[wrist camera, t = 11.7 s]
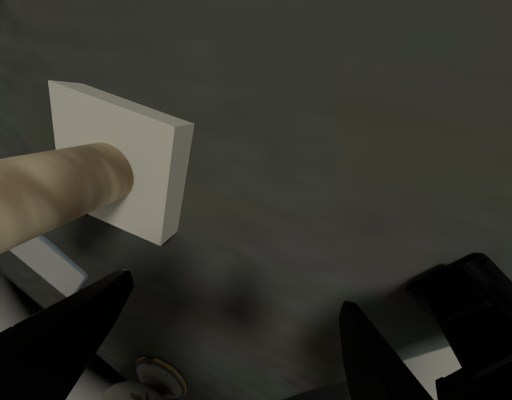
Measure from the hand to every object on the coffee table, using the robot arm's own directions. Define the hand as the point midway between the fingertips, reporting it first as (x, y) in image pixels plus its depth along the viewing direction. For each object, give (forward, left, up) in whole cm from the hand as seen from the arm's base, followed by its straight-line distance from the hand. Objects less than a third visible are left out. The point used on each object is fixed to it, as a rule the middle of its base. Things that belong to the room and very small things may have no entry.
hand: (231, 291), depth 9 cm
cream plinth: (+13, +9, -12) cm, 20 cm away
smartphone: (+18, +34, -13) cm, 40 cm away
